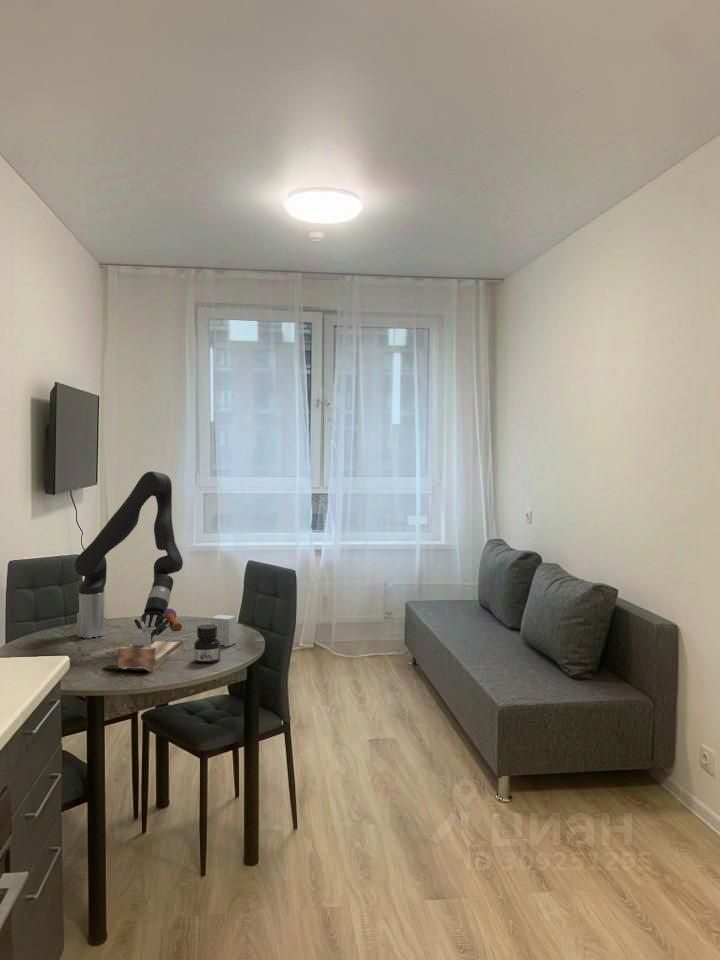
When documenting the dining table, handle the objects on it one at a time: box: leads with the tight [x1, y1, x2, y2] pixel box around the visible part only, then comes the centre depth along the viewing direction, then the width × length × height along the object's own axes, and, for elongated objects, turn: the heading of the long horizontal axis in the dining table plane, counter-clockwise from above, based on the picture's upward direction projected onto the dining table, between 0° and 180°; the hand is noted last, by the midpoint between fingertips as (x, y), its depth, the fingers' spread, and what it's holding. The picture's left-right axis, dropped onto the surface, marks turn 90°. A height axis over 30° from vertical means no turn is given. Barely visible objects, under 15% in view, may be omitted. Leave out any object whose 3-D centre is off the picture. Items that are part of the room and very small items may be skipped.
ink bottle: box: [193, 623, 221, 665], centre depth 249 cm, size 10×9×12 cm
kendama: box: [165, 607, 183, 631], centre depth 301 cm, size 6×6×20 cm
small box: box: [210, 614, 237, 647], centre depth 271 cm, size 8×6×10 cm
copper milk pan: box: [117, 639, 185, 673], centre depth 253 cm, size 12×32×8 cm, turn 176°
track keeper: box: [132, 628, 151, 647], centre depth 242 cm, size 7×6×10 cm
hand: (145, 644), depth 246 cm, fingers closed
